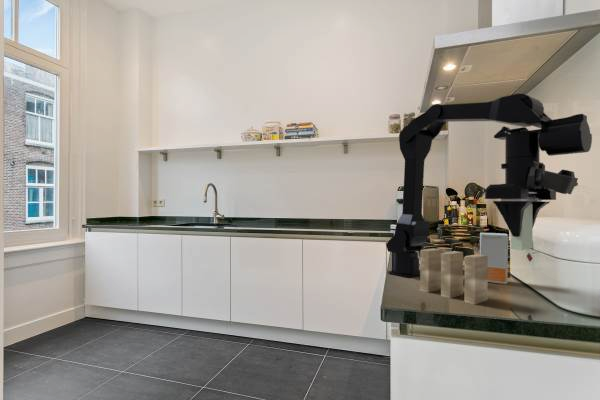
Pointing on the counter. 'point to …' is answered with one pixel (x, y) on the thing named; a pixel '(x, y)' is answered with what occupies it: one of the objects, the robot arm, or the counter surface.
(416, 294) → the counter surface
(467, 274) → the maple tile
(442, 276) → the maple tile
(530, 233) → the sage tile
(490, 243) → the skincare box
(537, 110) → the robot arm
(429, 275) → the maple tile
